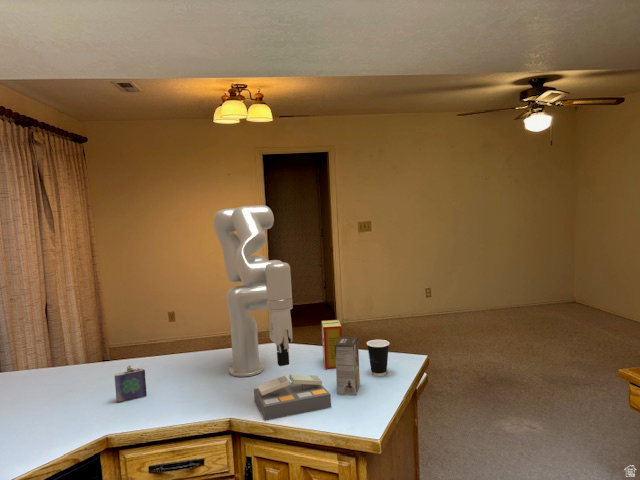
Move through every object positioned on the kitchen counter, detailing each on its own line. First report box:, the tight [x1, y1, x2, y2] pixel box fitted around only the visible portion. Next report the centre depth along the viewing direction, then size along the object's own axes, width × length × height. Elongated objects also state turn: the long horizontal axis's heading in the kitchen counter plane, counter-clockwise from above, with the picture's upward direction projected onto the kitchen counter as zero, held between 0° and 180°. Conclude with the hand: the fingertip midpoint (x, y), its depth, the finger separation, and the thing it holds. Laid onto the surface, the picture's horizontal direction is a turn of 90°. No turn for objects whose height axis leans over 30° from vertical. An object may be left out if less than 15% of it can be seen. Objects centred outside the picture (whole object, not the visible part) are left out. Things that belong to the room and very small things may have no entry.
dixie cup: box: [366, 339, 391, 377], centre depth 164 cm, size 8×8×11 cm
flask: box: [114, 365, 148, 403], centre depth 152 cm, size 9×3×11 cm, turn 121°
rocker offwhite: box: [257, 375, 291, 396], centre depth 141 cm, size 5×9×1 cm, turn 110°
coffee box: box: [335, 336, 361, 396], centre depth 151 cm, size 9×6×16 cm
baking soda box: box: [321, 319, 343, 370], centre depth 175 cm, size 10×6×16 cm
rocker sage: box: [288, 373, 323, 386], centre depth 145 cm, size 5×9×1 cm, turn 110°
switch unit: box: [253, 381, 332, 421], centre depth 142 cm, size 14×20×5 cm
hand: (283, 364), depth 141 cm, fingers closed
